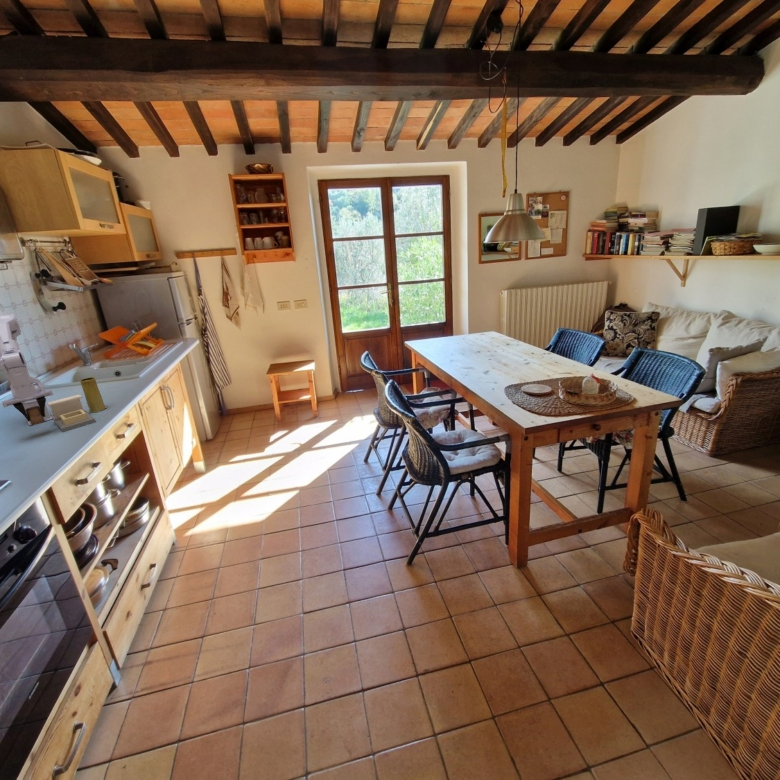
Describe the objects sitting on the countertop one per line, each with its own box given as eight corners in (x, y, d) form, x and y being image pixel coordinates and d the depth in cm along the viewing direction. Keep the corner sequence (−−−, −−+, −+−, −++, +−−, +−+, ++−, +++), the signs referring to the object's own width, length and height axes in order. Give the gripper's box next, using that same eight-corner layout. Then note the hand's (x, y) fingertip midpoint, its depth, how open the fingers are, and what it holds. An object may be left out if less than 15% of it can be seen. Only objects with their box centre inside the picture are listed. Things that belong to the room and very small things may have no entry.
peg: (30, 423, 156) (24, 408, 154) (43, 419, 159) (37, 405, 157) (32, 425, 154) (26, 411, 152) (45, 421, 156) (39, 407, 154)
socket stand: (54, 422, 169) (46, 402, 166) (86, 413, 176) (79, 394, 173) (62, 432, 158) (54, 411, 155) (95, 421, 166) (88, 401, 163)
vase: (103, 406, 183) (93, 375, 179) (108, 408, 180) (97, 378, 175) (87, 410, 179) (76, 380, 174) (92, 413, 175) (81, 382, 170)
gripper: (-3, 392, 144) (13, 427, 148) (49, 381, 153) (61, 414, 158) (-5, 389, 148) (10, 423, 153) (45, 377, 158) (58, 410, 163)
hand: (36, 418), depth 156 cm, fingers closed on peg, 4 cm apart
